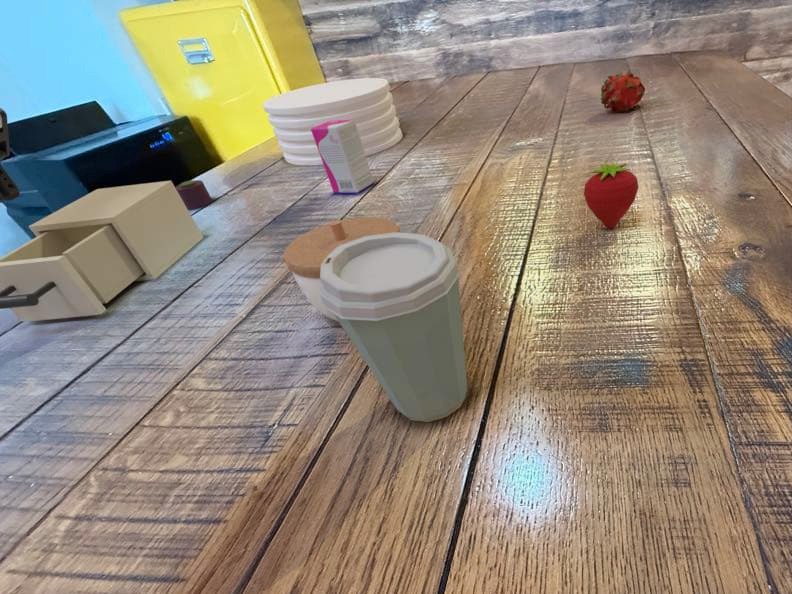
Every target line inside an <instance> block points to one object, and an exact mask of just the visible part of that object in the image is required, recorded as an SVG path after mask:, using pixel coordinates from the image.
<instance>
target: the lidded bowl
mask: <svg viewBox="0 0 792 594" xmlns="http://www.w3.org/2000/svg"><path fill="white" fill-rule="evenodd" d="M394 232H398V233H401V231H400V228H399V226H398V224H396V223H395V222H394V221H392V220H390V219H387V218H383V217H377V216H376V217H375V216H374V217H373V216H362V217H352V218H347V219H346V218H345V219H342V220H341V219H340V220H333V221H331V222H328V223H326V224H324V225H323V224H322V225H320V226H317V227H315V228H313V229H310V230H309V231H307V232H304V233H303V234H301V235H299V236H298V237H297V238H295V239H294V240H292V241H291V242H290V243H289V244H288V245H287V246H286V248H285V250H284V253H283V260H284V262H285V265H286V266H287V268H288V270H290V272H291V273H292V276H293V278H294V280H295V281H296V284H297V286H298V287H299V289H300V291H301V292H302V293H303V295H304V297H305V298H306V300H307V301H308V302H309V303H310V304H311V305H312V307H314V308H315V309H316V310H317V311H318V312H319V313H321V314H323V315H324V316H325V317H327V318H329V319H331V320H333V321H336V322H339V321H338V320H337V318H336V317H335V315H334V314H333V313H332V312H331V311H329V310H328V309H326V308H324V307H323V301H322V298H321V296H320V295H321V279H320V269H321V264H322V263H323V261H324V259H325V258H326V257H327V256H328V255H329V254H330V253H331V252H332V251H333V250H334V249H335V248H337V247H338V246H340V245H343V244H345V243H348V242H351V241H354V240H356V239H359V238H362V237H365V236H371V235H379V234H386V233H394Z"/></svg>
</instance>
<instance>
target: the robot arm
mask: <svg viewBox="0 0 792 594" xmlns="http://www.w3.org/2000/svg"><path fill="white" fill-rule="evenodd" d="M10 149H11V148H10V138H9V124H8V115H7V112H6V111H5V110H4V109H2V108H1V107H0V202H9V201H12V200H15V199H17V198H19V197H20V195H21V193H20V190H19V187H18V186H17V185H16V183H15V182H14V180H13V179H12V178H11V177H10V175H9V174H8V173H7V171H6V170H5V168H4V167H3V166H2V164H1V162H2V161H3V160H4V159H5V158H7V157H9V156H10V155H11V153H10V152H11V151H10Z"/></svg>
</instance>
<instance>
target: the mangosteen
mask: <svg viewBox="0 0 792 594" xmlns="http://www.w3.org/2000/svg"><path fill="white" fill-rule="evenodd" d="M174 187H175V188H176V190H177V192H178V194H179V195H180V197H181V199H182V201H183V202H184V204H185V206H186V208H187V209H188V211H189V210H190V211H191V210H198V209H202V208H205V207H208V206H209V205H211V204H212V203H213V202H214V201H213V199H212V197H211V195H210V193H209V191H208V189H207V188H206V186H205V183H204V182H203V180H197V179H196V180H193V179H192V180H187V181H183V182H181V183H180V184H178V185H176V186H174Z"/></svg>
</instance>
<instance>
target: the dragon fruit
mask: <svg viewBox="0 0 792 594" xmlns="http://www.w3.org/2000/svg"><path fill="white" fill-rule="evenodd" d="M607 78H608V79H606V80H605V81H604V82H603V85H601V87H600V89H601V90H600V92H601V94H600V97H601V98H600V102H601V104H602V105H603V107H604V109H610V110H611V111H612V113H614V114H616V113H617V112H619V110H620V111H621V112H625V113H626V112H628V111H629V110H636V109H638V108H639V104H638V103H639V102H641V101H642V99H643V97H644V96H645V93H646V88H645V86H644V84H643V83H642V80H641V78H640V76H634V73H633V72H632V71H627V73H626V74H623V72H621V71H619V72H618V74H616V75H615V76H614V75H611V74H610V75H608V76H607Z"/></svg>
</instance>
